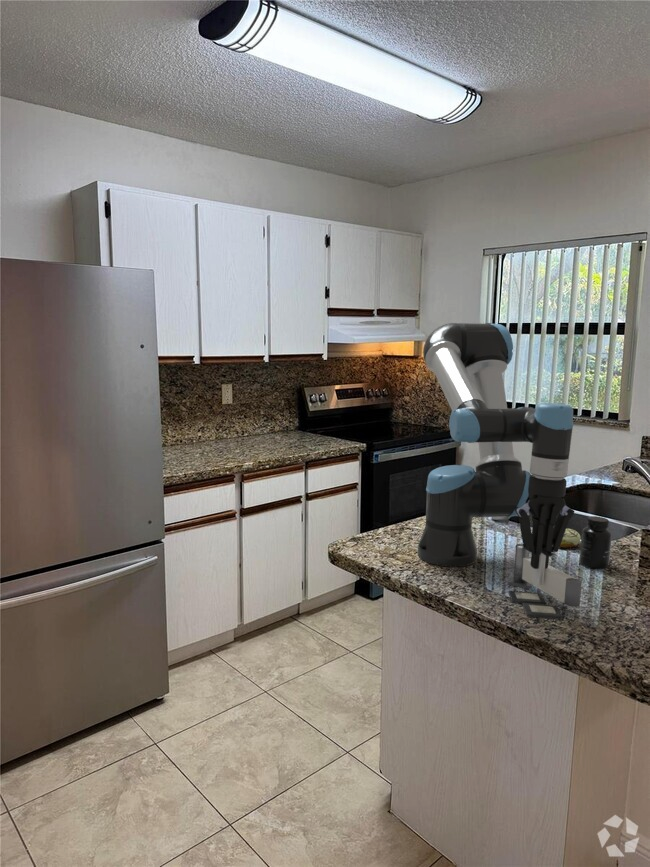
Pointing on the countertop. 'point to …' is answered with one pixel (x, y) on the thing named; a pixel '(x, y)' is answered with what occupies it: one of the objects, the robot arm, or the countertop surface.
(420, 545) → the robot arm
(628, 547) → the countertop surface
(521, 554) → the pivot post
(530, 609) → the label plate
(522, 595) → the label plate
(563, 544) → the decorated donut
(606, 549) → the supplement bottle
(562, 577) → the swing bar
